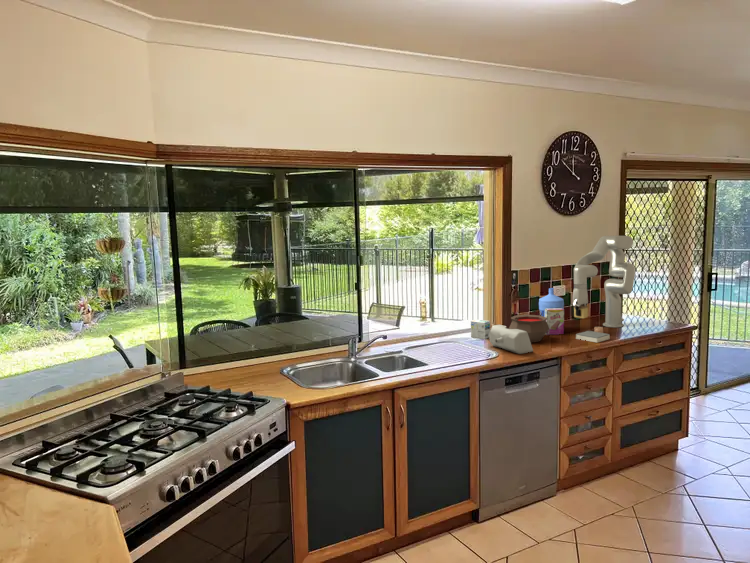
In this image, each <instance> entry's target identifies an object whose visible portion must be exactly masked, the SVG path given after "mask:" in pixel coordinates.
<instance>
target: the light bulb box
mask: <svg viewBox="0 0 750 563" xmlns="http://www.w3.org/2000/svg"><path fill="white" fill-rule="evenodd" d="M490 330H491V321H490V320H482V319H473V320H470V337H471V338H473V339H480V340H486V339H490V338H489V332H490Z"/></svg>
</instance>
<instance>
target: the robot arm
mask: <svg viewBox="0 0 750 563" xmlns="http://www.w3.org/2000/svg"><path fill="white" fill-rule="evenodd" d="M633 245H634V240H633V237H631V236H630V235H603V236H601V237H600V238H599V239H598V241H597V242H596V244H595V246H594V247H593V248H592V250H591V251H590V252H587V253H586V254H585V255H582V256H581V257H580V258H579V259H578V260H577V262H576V263H575V265H574V267H573V292H572V306H573V308H574V307H575V309H576V316H581V310H580V306H581V305H583V306H588V303H589V295H588V283H587V280H588V278H594V277H596V276H597V275H598V272H599V270H598V267H597V266H595V265H594V264H593V263H596V262H600V261H602V260H604V259H605V257H606V256H607V254H608V252H610V260H609V261H610V262H609V269H608V274H609V275H610V276H611V277H615V278H609V279H606V280H605V281H604V284H603V285H604V288H603V289H604V293H605V294H604V295H605V319H604V320H605V322H603V323H602V327H606V328H623V327H624V326H625V325H624V324H623V323H622V322H624V320H625V319H624V318H623V317H622V297H621V296H620V295H630V294H631V293H632V291H633V286H634V282H635V275H636V267H635V266H634V264H633V263H631V262H626V261H625V260H626V255H625V254H626V253H625V252H624V250H628V249H631V248H632V247H633ZM619 278H620V279H619ZM621 278H623V279H621ZM578 306H579V307H578Z"/></svg>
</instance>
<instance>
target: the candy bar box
mask: <svg viewBox="0 0 750 563" xmlns="http://www.w3.org/2000/svg"><path fill="white" fill-rule="evenodd" d="M545 317H546V318H547V319H546V322H547V324H548V327H549V330H548V331H547V333H546V334H545V336H554V335H555V336H556V335H557V336H559V334H565V309H562V308H549V309H545Z"/></svg>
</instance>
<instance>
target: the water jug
mask: <svg viewBox="0 0 750 563" xmlns="http://www.w3.org/2000/svg"><path fill="white" fill-rule="evenodd" d="M554 293H555V289H554V287H549V288H548V294H547V295H544V296H542V297H540V298H539V299H538V310H539V312H541V313H542V315H541V313H540V315H541V316H543V317H545V309H549V308H562V309H564V306H565V302H564V300H565V299H564V298H562V297H560V296H558V295H556V294H554ZM564 310H565V309H564ZM540 315H539V316H540Z"/></svg>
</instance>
